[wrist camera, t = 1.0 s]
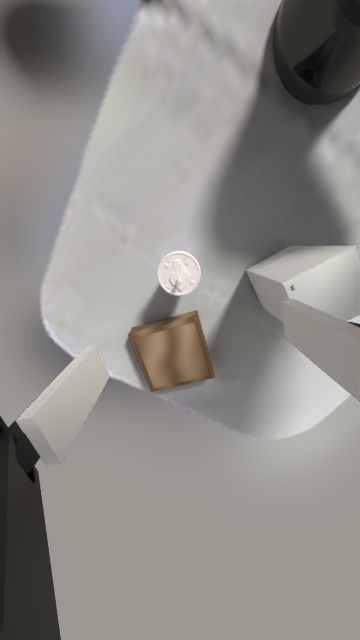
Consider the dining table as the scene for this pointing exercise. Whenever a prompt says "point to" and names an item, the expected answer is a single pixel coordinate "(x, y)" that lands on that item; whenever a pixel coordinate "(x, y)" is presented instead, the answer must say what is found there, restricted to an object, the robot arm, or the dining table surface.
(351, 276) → the supplement box
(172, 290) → the smoothie
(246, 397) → the dining table surface
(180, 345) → the walnut tray
